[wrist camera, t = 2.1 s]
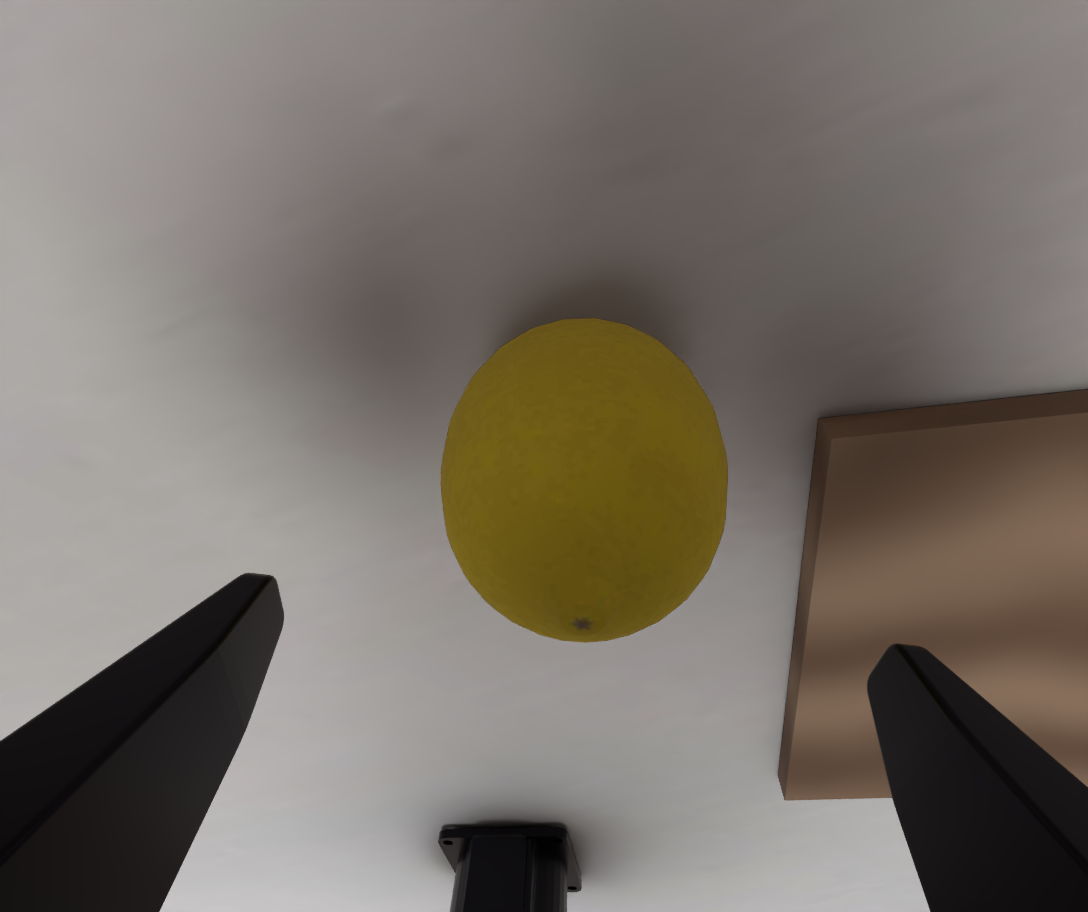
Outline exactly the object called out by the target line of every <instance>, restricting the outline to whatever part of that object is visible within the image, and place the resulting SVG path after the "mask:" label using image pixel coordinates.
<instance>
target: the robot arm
mask: <svg viewBox="0 0 1088 912" xmlns="http://www.w3.org/2000/svg"><path fill="white" fill-rule="evenodd" d="M283 622H284V611H283V607H282V602H281V597H280V593H279V588H278V584H277V581H276V579H275V578H274V577H273V576H271V575H265V574H256V573H245V574H243V575H240V576H239V577H237V578H236V579H234V580H233V581H231V582H230V583H228V584H227V585H226V586H224V587H223V588H221V589H220V590H218V591H217V592H215V593H214V594H213V595H211V596H210V597H208V598H207V599H205V600H204V601H202V602H201V603H199V604H198V605H197V606H195V607H194V608H192V609H191V610H189V611H188V612H186V613H185V614H184V615H182V616H181V617H179V618H178V619H176V620H175V621H173V622H172V623H171V624H169V625H168V626H166V627H165V628H163V629H162V630H160V631H159V632H157V633H156V634H155V635H153V636H152V637H150V638H149V639H147V640H146V641H144V642H143V643H142V644H140V645H139V646H137V647H136V648H134V649H133V650H131V651H130V652H129V653H127V654H126V655H124V656H123V657H121V658H120V659H118V660H117V661H115V662H114V663H113V664H111V665H110V666H108V667H107V668H105V669H104V670H102V671H101V672H100V673H98V674H97V675H95V676H94V677H92V678H91V679H89V680H88V681H87V682H85V683H84V684H82V685H81V686H79V687H78V688H76V689H75V690H73V691H72V692H71V693H69V694H68V695H66V696H65V697H63V698H62V699H60V700H59V701H58V702H56V703H55V704H53V705H52V706H50V707H49V708H47V709H46V710H45V711H43V712H42V713H40V714H39V715H37V716H36V717H34V718H33V719H31V720H30V721H29V722H27V723H26V724H24V725H23V726H21V727H20V728H18V729H17V730H16V731H14V732H13V733H11V734H10V735H8V736H7V737H5V738H4V739H3V740H1V741H0V912H159V911H160V909H161V907H162V905H163V903H164V901H165V899H166V897H167V894H168V892H169V890H170V888H171V886H172V884H173V882H174V880H175V878H176V876H177V874H178V871H179V869H180V867H181V865H182V863H183V861H184V859H185V857H186V855H187V853H188V851H189V849H190V846H191V844H192V842H193V840H194V838H195V836H196V834H197V832H198V830H199V828H200V826H201V824H202V821H203V819H204V817H205V815H206V813H207V811H208V809H209V807H210V805H211V803H212V801H213V798H214V796H215V794H216V792H217V790H218V788H219V786H220V784H221V782H222V780H223V778H224V776H225V773H226V771H227V769H228V767H229V765H230V763H231V761H232V759H233V757H234V755H235V753H236V751H237V748H238V746H239V744H240V742H241V740H242V737H243V735H244V733H245V731H246V728H247V726H248V723H249V720H250V718H251V715H252V712H253V710H254V707H255V704H256V701H257V698H258V695H259V693H260V690H261V687H262V684H263V681H264V679H265V676H266V673H267V670H268V667H269V664H270V662H271V659H272V656H273V653H274V650H275V648H276V645H277V642H278V639H279V636H280V634H281V631H282V627H283ZM867 694H868V698H869V703H870V707H871V711H872V715H873V720H874V724H875V728H876V733H877V737H878V741H879V745H880V750H881V754H882V758H883V763H884V767H885V771H886V775H887V780H888V783H889V787H890V791H891V795H892V798H893V802H894V805H895V808H896V811H897V814H898V817H899V820H900V823H901V826H902V829H903V832H904V835H905V838H906V841H907V844H908V847H909V850H910V853H911V856H912V859H913V862H914V865H915V867H916V870H917V873H918V876H919V879H920V882H921V885H922V888H923V891H924V894H925V897H926V900H927V903H928V906H929V909H930V912H1088V787H1087V786H1086V785H1085V784H1084V783H1083V782H1081V781H1080V780H1079V779H1078V778H1077V777H1076V776H1074V775H1073V774H1072V773H1071V772H1070V771H1069V770H1067V769H1066V768H1065V767H1064V766H1063V765H1062V764H1060V763H1059V762H1058V761H1057V760H1056V759H1054V758H1053V757H1052V756H1051V755H1050V754H1049V753H1047V752H1046V751H1045V750H1044V749H1043V748H1042V747H1040V746H1039V745H1038V744H1037V743H1036V742H1035V741H1033V740H1032V739H1031V738H1030V737H1029V736H1028V735H1026V734H1025V733H1024V732H1023V731H1022V730H1021V729H1019V728H1018V727H1017V726H1016V725H1015V724H1014V723H1012V722H1011V721H1010V720H1009V719H1008V718H1007V717H1005V716H1004V715H1003V714H1002V713H1001V712H1000V711H998V710H997V709H996V708H995V707H994V706H993V705H991V704H990V703H989V702H988V701H987V700H986V699H984V698H983V697H982V696H981V695H980V694H978V693H977V692H976V691H975V690H974V689H973V688H971V687H970V686H969V685H968V684H967V683H966V682H964V681H963V680H962V679H961V678H960V677H959V676H957V675H956V674H955V673H954V672H953V671H952V670H950V669H949V668H948V667H947V666H946V665H945V664H943V663H942V662H941V661H940V660H939V659H938V658H936V657H935V656H934V655H933V654H932V653H931V652H929V651H928V650H927V649H925V648H923V647H921V646H916V645H908V644H899V643H896V644H892V645H890V646H889V647H888V648H887V649H886V651H885V652H884V654H883V655H882V657H881V658H880V660H879V661H878V663H877V664H876V666H875V667H874V669H873V670H872V672H871V673H870V675H869V677H868V680H867ZM438 843H439V845H440V847H441V848H442V850H443V852H444V854H445V856H446V857H447V859H448V861H449V863H450V864H451V866H452V868H453V870H454V872H455V873H456V875H455V882H454V888H453V895H452V901H451V908H450V912H567V892H578V891H580V890H581V888H582V880H581V876H580V873H579V869H578V866H577V862H576V859H575V856H574V852H573V849H572V845H571V842H570V839H569V835H568V832H567V830H565V829H564V828H560V827H536V828H486V829H445V830H442V831H440V834H439V839H438Z"/></svg>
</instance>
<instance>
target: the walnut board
mask: <svg viewBox="0 0 1088 912" xmlns="http://www.w3.org/2000/svg"><path fill="white" fill-rule="evenodd" d="M896 643H899V644H908V645H916V646H921V647H923V648H925V649H927V650H928V651H929V652H931V653H932V654H933V655H934V656H935V657H936V658H938V659H939V660H940V661H941V662H942V663H943V664H945V665H946V666H947V667H948V668H949V669H950V670H952V671H953V672H954V673H955V674H956V675H957V676H959V677H960V678H961V679H962V680H963V681H964V682H966V683H967V684H968V685H969V686H970V687H971V688H973V689H974V690H975V691H976V692H977V693H978V694H980V695H981V696H982V697H983V698H984V699H986V700H987V701H988V702H989V703H990V704H991V705H993V706H994V707H995V708H996V709H997V710H998V711H1000V712H1001V713H1002V714H1003V715H1004V716H1005V717H1007V718H1008V719H1009V720H1010V721H1011V722H1012V723H1014V724H1015V725H1016V726H1017V727H1018V728H1019V729H1021V730H1022V731H1023V732H1024V733H1025V734H1026V735H1028V736H1029V737H1030V738H1031V739H1032V740H1033V741H1035V742H1036V743H1037V744H1038V745H1039V746H1040V747H1042V748H1043V749H1044V750H1045V751H1046V752H1047V753H1049V754H1050V755H1051V756H1052V757H1053V758H1054V759H1056V760H1057V761H1058V762H1059V763H1060V764H1062V765H1063V766H1064V767H1065V768H1066V769H1067V770H1069V771H1070V772H1071V773H1072V774H1073V775H1074V776H1076V777H1077V778H1078V779H1079V780H1080V781H1081V782H1083V783H1084V784H1085V785H1086V786H1087V787H1088V390H1079V391H1070V392H1060V393H1051V394H1042V395H1032V396H1023V397H1014V398H1004V399H995V400H986V401H976V402H967V403H958V404H948V405H939V406H930V407H920V408H911V409H902V410H892V411H883V412H874V413H864V414H855V415H846V416H836V417H827V418H818V425H817V434H816V443H815V452H814V461H813V470H812V479H811V487H810V496H809V505H808V514H807V523H806V532H805V541H804V549H803V558H802V567H801V576H800V585H799V594H798V603H797V612H796V620H795V629H794V638H793V647H792V656H791V665H790V674H789V682H788V691H787V700H786V709H785V718H784V727H783V736H782V745H781V753H780V762H779V771H778V778H779V782H780V785H781V789H782V793H783V796H784V800H819V799H860V798H892V795H891V791H890V787H889V783H888V780H887V775H886V771H885V767H884V763H883V758H882V754H881V750H880V745H879V741H878V737H877V733H876V728H875V724H874V720H873V715H872V711H871V707H870V703H869V698H868V694H867V680H868V677H869V675H870V673H871V672H872V670H873V669H874V667H875V666H876V664H877V663H878V661H879V660H880V658H881V657H882V655H883V654H884V652H885V651H886V649H887V648H888V647H889V646H890V645H892V644H896Z"/></svg>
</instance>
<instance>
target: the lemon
mask: <svg viewBox="0 0 1088 912" xmlns="http://www.w3.org/2000/svg"><path fill="white" fill-rule="evenodd" d="M727 484H728V464H727V457H726V451H725V447H724V443H723V440H722V436H721V432H720V429H719V425H718V421H717V418H716V414H715V411H714V409H713V406H712V404H711V402H710V400H709V399H708V397H707V396H706V394H705V393H704V391H703V389H702V388H701V386H700V385H699V383H698V382H697V380H696V378H695V377H694V375H693V374H692V372H691V371H690V369H689V368H688V366H687V365H686V364H685V363H684V362H683V361H682V360H680V359H679V358H678V357H677V356H676V355H675V354H674V353H672V352H671V351H670V350H669V349H668V348H667V347H665V346H664V345H663V344H662V343H661V342H660V341H658V340H657V339H655V338H653V337H651V336H649V335H647V334H645V333H643V332H641V331H639V330H637V329H635V328H633V327H630V326H628V325H626V324H621V323H617V322H612V321H607V320H602V319H597V318H583V319H562V320H559V321H555V322H552V323H548V324H545V325H542V326H538V327H535V328H532V329H530V330H528V331H527V332H525V333H523V334H521V335H520V336H518V337H516V338H515V339H513V340H511V341H510V342H508V343H506V344H505V345H503V346H502V347H500V348H499V349H498V350H497V351H496V352H495V354H494V355H493V356H492V357H491V358H490V359H489V360H488V361H487V362H486V363H485V364H484V365H483V366H482V367H481V368H480V369H479V370H478V371H477V372H476V373H475V375H474V376H473V377H472V379H471V381H470V382H469V384H468V386H467V388H466V390H465V392H464V394H463V395H462V397H461V399H460V401H459V403H458V405H457V407H456V409H455V411H454V413H453V416H452V418H451V421H450V425H449V428H448V433H447V438H446V443H445V449H444V454H443V459H442V467H441V494H442V503H443V511H444V519H445V526H446V531H447V536H448V539H449V542H450V545H451V548H452V550H453V552H454V554H455V556H456V559H457V561H458V563H459V565H460V567H461V569H462V571H463V573H464V575H465V576H466V578H467V579H468V581H469V582H470V583H471V585H472V586H473V587H474V588H475V589H476V591H477V592H478V593H479V594H480V595H481V596H482V598H483V599H484V600H485V601H486V602H487V603H488V604H489V605H490V606H492V607H493V608H494V609H495V610H497V611H498V612H499V613H501V614H502V615H503V616H505V617H506V618H508V619H509V620H510V621H512V622H513V623H516V624H518V625H520V626H522V627H524V628H526V629H528V630H531V631H533V632H535V633H537V634H539V635H543V636H547V637H550V638H554V639H558V640H562V641H574V642H597V641H608V640H612V639H616V638H620V637H624V636H628V635H631V634H633V633H635V632H638V631H640V630H642V629H644V628H646V627H648V626H650V625H653V624H655V623H657V622H659V621H660V620H661V619H663V618H664V617H665V616H667V615H668V614H669V613H671V612H672V611H673V610H674V609H676V608H677V607H678V606H679V605H681V604H682V603H683V602H684V601H685V600H686V599H687V598H688V597H689V596H690V594H691V593H692V592H693V590H694V589H695V588H696V587H697V585H698V584H699V583H700V582H701V580H702V579H703V577H704V576H705V574H706V573H707V571H708V570H709V568H710V565H711V563H712V560H713V558H714V555H715V553H716V550H717V548H718V545H719V542H720V539H721V537H722V534H723V530H724V524H725V519H726V503H727Z"/></svg>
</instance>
